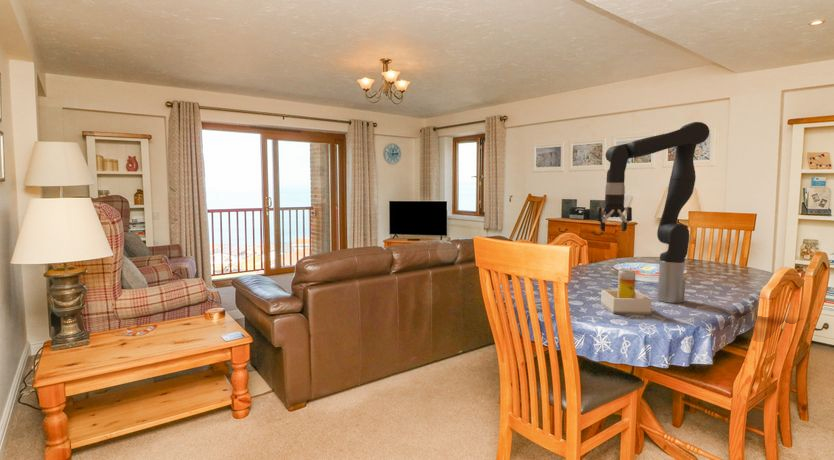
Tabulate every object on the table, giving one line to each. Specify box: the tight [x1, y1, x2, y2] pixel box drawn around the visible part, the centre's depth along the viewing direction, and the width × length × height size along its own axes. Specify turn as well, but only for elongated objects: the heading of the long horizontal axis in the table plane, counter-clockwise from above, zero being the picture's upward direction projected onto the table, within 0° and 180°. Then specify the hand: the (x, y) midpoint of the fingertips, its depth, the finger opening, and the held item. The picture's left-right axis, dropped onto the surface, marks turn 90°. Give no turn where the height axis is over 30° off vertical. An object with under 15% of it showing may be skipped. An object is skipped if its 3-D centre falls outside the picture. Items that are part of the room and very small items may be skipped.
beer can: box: [617, 268, 636, 299], centre depth 181 cm, size 6×6×15 cm
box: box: [600, 289, 652, 316], centre depth 181 cm, size 14×14×6 cm
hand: (613, 231), depth 194 cm, fingers open, 8 cm apart
